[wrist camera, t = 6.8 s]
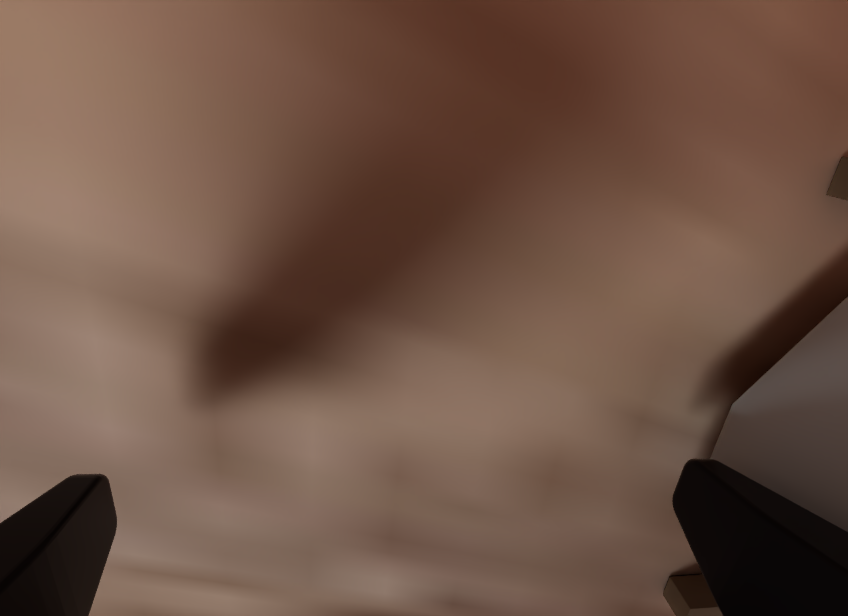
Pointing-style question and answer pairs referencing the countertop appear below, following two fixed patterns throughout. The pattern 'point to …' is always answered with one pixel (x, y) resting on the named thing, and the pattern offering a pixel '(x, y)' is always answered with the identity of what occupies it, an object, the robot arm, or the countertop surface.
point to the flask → (798, 423)
